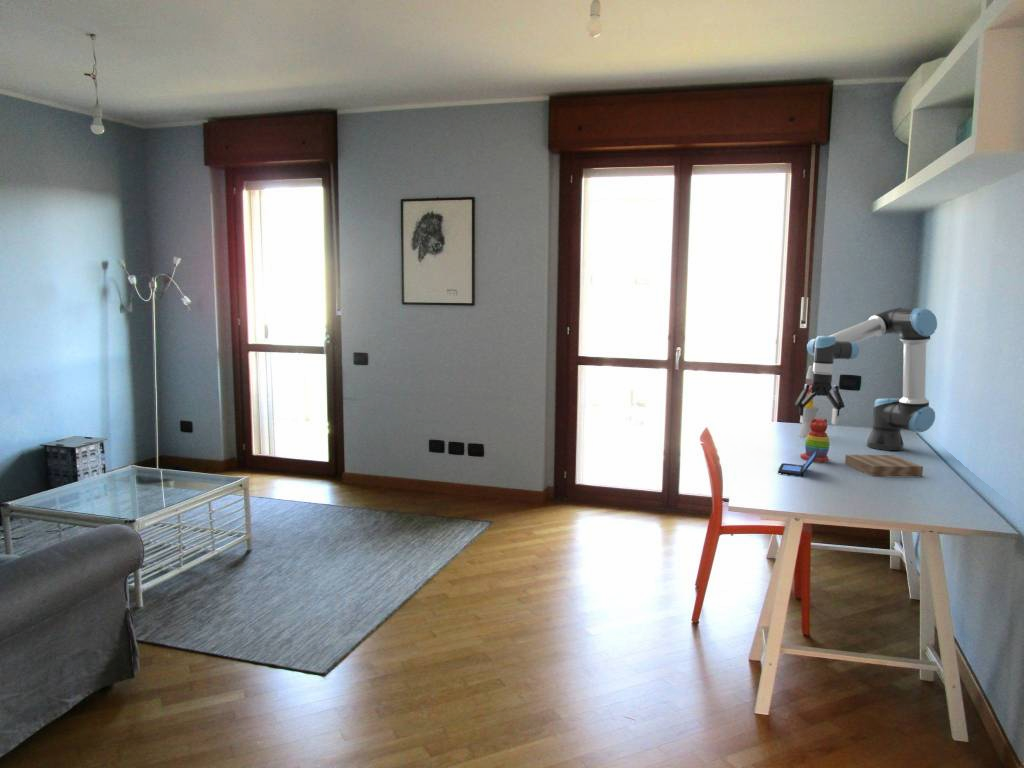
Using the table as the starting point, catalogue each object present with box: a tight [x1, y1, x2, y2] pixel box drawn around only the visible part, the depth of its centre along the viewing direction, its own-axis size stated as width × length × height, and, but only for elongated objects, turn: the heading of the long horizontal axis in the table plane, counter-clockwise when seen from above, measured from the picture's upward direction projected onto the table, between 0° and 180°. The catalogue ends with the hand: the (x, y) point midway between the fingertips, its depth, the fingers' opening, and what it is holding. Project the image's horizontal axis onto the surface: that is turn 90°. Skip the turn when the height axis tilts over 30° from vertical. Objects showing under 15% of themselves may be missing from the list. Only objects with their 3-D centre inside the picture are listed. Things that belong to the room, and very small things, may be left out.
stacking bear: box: [799, 418, 830, 463], centre depth 298 cm, size 11×10×18 cm
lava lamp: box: [797, 365, 820, 438], centre depth 349 cm, size 9×9×35 cm
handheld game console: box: [777, 449, 819, 478], centre depth 276 cm, size 16×13×9 cm
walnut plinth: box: [844, 454, 924, 477], centre depth 283 cm, size 20×20×4 cm
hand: (817, 423), depth 297 cm, fingers open, 13 cm apart
